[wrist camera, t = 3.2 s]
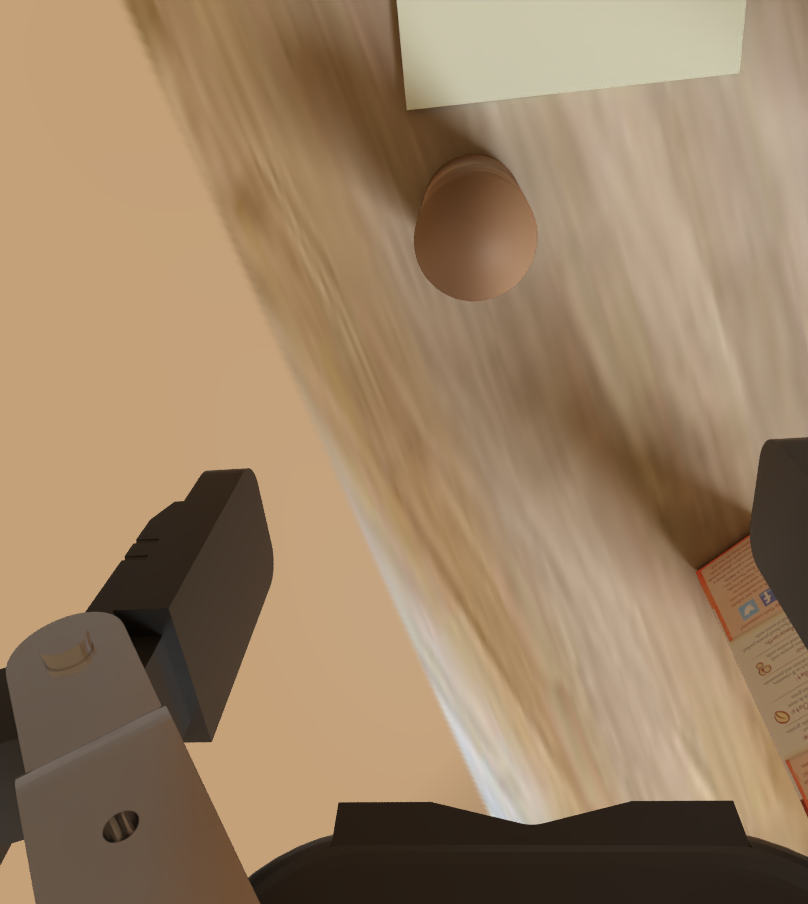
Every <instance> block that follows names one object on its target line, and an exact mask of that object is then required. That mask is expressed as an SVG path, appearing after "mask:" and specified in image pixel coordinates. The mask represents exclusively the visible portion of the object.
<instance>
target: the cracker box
mask: <svg viewBox="0 0 808 904" xmlns="http://www.w3.org/2000/svg"><path fill="white" fill-rule="evenodd" d="M696 574H697V577H698V579H699V581H700V583H701V586H702V588H703V590H704V592H705V594H706V597H707V599H708V601H709V603H710V605H711V607H712V609H713V611H714V614H715V616H716V618H717V620H718V623H719V625H720V627H721V629H722V631H723V633H724V635H725V638H726V640H727V642H728V644H729V646H730V648H731V651H732V653H733V655H734V657H735V660H736V662H737V664H738V666H739V668H740V671H741V673H742V675H743V677H744V679H745V681H746V683H747V686H748V688H749V690H750V692H751V694H752V697H753V699H754V701H755V703H756V705H757V707H758V710H759V712H760V714H761V716H762V718H763V720H764V723H765V725H766V727H767V729H768V731H769V733H770V735H771V738H772V740H773V742H774V744H775V746H776V748H777V750H778V753H779V755H780V757H781V759H782V761H783V764H784V766H785V768H786V770H787V773H788V775H789V777H790V779H791V782H792V784H793V786H794V788H795V790H796V793H797V795H798V797H799V799H800V801H801V803H802V805H803V808H804V810H805V812H806V814H807V817H808V650H807V649H806V647H805V645H804V644H803V642H802V640H801V639H800V637H799V635H798V634H797V632H796V630H795V629H794V627H793V625H792V624H791V622H790V620H789V619H788V617H787V616H786V614H785V612H784V611H783V609H782V607H781V606H780V604H779V602H778V601H777V599H776V597H775V596H774V594H773V592H772V591H771V589H770V587H769V586H768V584H767V583H766V581H765V579H764V578H763V576H762V574H761V573H760V571H759V569H758V568H757V566H756V563H755V561H754V558H753V555H752V550H751V544H750V535H748V536H747V537H745V538H744V539H742V540H741V541H740V542H738V543H737V544H735V545H734V546H732V547H731V548H729V549H728V550H727V551H725V552H724V553H722V554H721V555H720V556H718V557H717V558H715V559H714V560H712V561H711V562H709V563H708V564H707V565H705V566H704V567H702V568H701V569H699V570H698V571H696Z"/></svg>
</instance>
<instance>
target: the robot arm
mask: <svg viewBox="0 0 808 904" xmlns="http://www.w3.org/2000/svg"><path fill="white" fill-rule="evenodd" d="M136 540H137V542H136V544H133V545H132V547H131V548H130V549H129V551H128V552H127V554H126V555H125V560H124V561H121V562H120V564H119V565H118V566H117V568H116V569H115V571H114V572H113V574H112V575H111V576H110V578H109V579H108V581H107V582H106V584H105V585H104V586H103V588H102V589H101V591H100V592H99V593H98V595H97V596H96V598H95V599H94V601H93V602H92V603H91V605H90V606H89V608H88V609H87V610H86V612H85V613H80V614H75V615H71V616H67V617H65V618H61V619H59V620H56V621H54V622H52V623H50V624H48V625H46V626H44V627H42V628H41V629H39V630H37V631H36V632H34V633H33V634H32V635H30V636H29V637H28V638H26V639H25V640H24V641H23V642H22V643H21V644H20V645H19V646H18V647H17V648H16V649H15V651H14V652H13V653H12V655H11V656H10V658H9V661H8V662H7V666H6V668H3V669H0V865H1V863H2V861H3V859H4V857H5V855H6V853H7V851H8V849H9V848H10V846H11V844H12V843H14V842H18V841H21V840H24V841H25V846H26V852H27V858H28V863H29V869H30V874H31V880H32V886H33V891H34V896H35V902H36V904H808V857H807V856H804V855H802V854H800V853H798V852H795V851H793V850H791V849H788V848H786V847H783V846H780V845H777V844H774V843H771V842H768V841H765V840H762V839H759V838H755V837H751V836H747V835H746V834H745V831H744V828H743V826H742V823H741V820H740V818H739V815H738V813H737V810H736V807H735V805H734V802H733V801H630V802H627V803H623V804H619V805H615V806H611V807H607V808H603V809H599V810H595V811H591V812H587V813H583V814H579V815H575V816H571V817H567V818H563V819H559V820H555V821H551V822H547V823H543V824H537V825H527V824H521V823H517V822H512V821H508V820H504V819H500V818H496V817H492V816H487V815H483V814H479V813H475V812H470V811H466V810H462V809H458V808H454V807H450V806H445V805H441V804H437V803H433V802H356V803H355V802H353V803H351V802H349V803H339V804H338V810H337V815H336V821H335V827H334V834H333V835H331V836H326V837H323V838H319V839H317V840H314V841H311V842H309V843H306V844H304V845H301V846H299V847H296V848H294V849H293V850H291V851H289V852H287V853H285V854H283V855H281V856H279V857H277V858H275V859H274V860H272V861H271V862H269V863H268V864H266V865H265V866H263V867H262V868H260V869H259V870H257V871H256V872H255V873H253V874H252V875H251V876H250V877H247V875H246V873H245V871H244V869H243V866H242V864H241V862H240V860H239V858H238V856H237V854H236V852H235V850H234V847H233V845H232V843H231V841H230V839H229V837H228V835H227V833H226V831H225V828H224V827H223V824H222V822H221V820H220V818H219V816H218V814H217V812H216V810H215V808H214V805H213V803H212V801H211V799H210V797H209V795H208V793H207V791H206V788H205V786H204V784H203V782H202V780H201V778H200V776H199V774H198V772H197V769H196V768H195V765H194V763H193V761H192V759H191V757H190V755H189V753H188V750H187V749H186V746H185V744H184V742H212V740H213V737H214V734H215V732H216V729H217V726H218V724H219V721H220V719H221V716H222V713H223V711H224V708H225V705H226V703H227V700H228V697H229V695H230V692H231V689H232V687H233V684H234V681H235V678H236V676H237V673H238V670H239V668H240V665H241V662H242V660H243V657H244V655H245V652H246V649H247V647H248V644H249V641H250V638H251V636H252V633H253V630H254V628H255V625H256V623H257V620H258V617H259V614H260V612H261V609H262V607H263V604H264V601H265V598H266V596H267V593H268V591H269V588H270V585H271V581H272V577H273V549H272V544H271V540H270V535H269V531H268V527H267V522H266V518H265V513H264V509H263V504H262V500H261V496H260V491H259V487H258V483H257V479H256V476H255V474H254V472H253V471H252V470H251V469H249V468H247V469H230V470H212V471H205V472H203V473H202V475H201V476H200V478H199V479H198V481H197V482H196V484H195V485H194V487H193V488H192V490H191V491H190V493H189V494H188V496H187V497H186V499H185V501H181V502H180V501H179V502H174V503H172V504H171V505H170V506H168V507H167V508H166V509H164V510H163V511H161V512H160V513H159V514H157V515H156V516H155V517H153V518H152V519H151V520H150V521H149V522H148V524H147V525H146V527H145V528H144V529H143V531H142V532H141V534H140V535H139V537H138V538H137V539H136ZM750 544H751V550H752V555H753V558H754V561H755V563H756V566H757V568H758V569H759V571H760V573H761V574H762V576H763V578H764V579H765V581H766V583H767V584H768V586H769V587H770V589H771V591H772V592H773V594H774V596H775V597H776V599H777V601H778V602H779V604H780V606H781V607H782V609H783V611H784V612H785V614H786V616H787V617H788V619H789V620H790V622H791V624H792V625H793V627H794V629H795V630H796V632H797V634H798V635H799V637H800V639H801V640H802V642H803V644H804V645H805V647H806V649H807V650H808V437H804V438H787V439H770V440H767V441H766V442H765V443H764V445H763V447H762V450H761V454H760V459H759V466H758V473H757V480H756V488H755V495H754V502H753V509H752V516H751V523H750Z"/></svg>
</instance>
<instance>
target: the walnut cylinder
mask: <svg viewBox="0 0 808 904" xmlns="http://www.w3.org/2000/svg"><path fill="white" fill-rule="evenodd" d="M536 247H537V225H536V221H535V217H534V214H533V212H532V209H531V208H530V206H529V204H528V202H527V200H526V198H525V196H524V194H523V193H522V191H521V189H520V187H519V185H518V183H517V181H516V180H515V178H514V176H513V175H512V173H511V172H510V171H509V170H508V169H507V168H506V167H505V166H504V165H503V164H502V163H500V162H499V161H497V160H495V159H493V158H491V157H488V156H484V155H477V154H473V155H464V156H461V157H457V158H455V159H453V160H451V161H449V162H448V163H446V164H445V165H444V166H442V167H441V168H440V169H439V170H438V171H437V172H436V173H435V175H434V176H433V178H432V179H431V181H430V183H429V185H428V187H427V190H426V193H425V196H424V200H423V203H422V206H421V209H420V213H419V216H418V219H417V222H416V227H415V233H414V248H415V254H416V258H417V261H418V263H419V266H420V268H421V270H422V272H423V273H424V275H425V276H426V278H427V279H428V280H429V281H430V282H431V283H432V284H433V285H434V286H435V287H436V288H437V289H439V290H440V291H441V292H443V293H445V294H447V295H448V296H451V297H454V298H456V299H460V300H466V301H481V300H487V299H491V298H494V297H497V296H499V295H501V294H503V293H505V292H507V291H508V290H510V289H511V288H512V287H514V286H515V285H516V284H517V283H518V282H519V281H520V280H521V279H522V278H523V276H524V275H525V274H526V272H527V271H528V269H529V267H530V265H531V263H532V261H533V258H534V255H535V252H536Z"/></svg>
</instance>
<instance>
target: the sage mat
mask: <svg viewBox="0 0 808 904" xmlns="http://www.w3.org/2000/svg"><path fill="white" fill-rule="evenodd" d="M397 10H398V21H399V32H400V43H401V54H402V65H403V75H404V86H405V97H406V108H407V110H414V109H423V108H432V107H441V106H450V105H459V104H468V103H477V102H486V101H494V100H503V99H512V98H521V97H530V96H539V95H548V94H557V93H566V92H575V91H584V90H593V89H602V88H611V87H620V86H629V85H638V84H647V83H656V82H665V81H673V80H682V79H691V78H700V77H709V76H718V75H727V74H736V73H739V71H740V61H741V50H742V40H743V30H744V20H745V10H746V0H397Z"/></svg>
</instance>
